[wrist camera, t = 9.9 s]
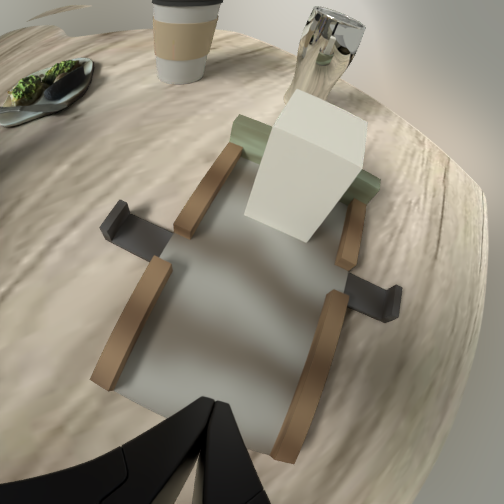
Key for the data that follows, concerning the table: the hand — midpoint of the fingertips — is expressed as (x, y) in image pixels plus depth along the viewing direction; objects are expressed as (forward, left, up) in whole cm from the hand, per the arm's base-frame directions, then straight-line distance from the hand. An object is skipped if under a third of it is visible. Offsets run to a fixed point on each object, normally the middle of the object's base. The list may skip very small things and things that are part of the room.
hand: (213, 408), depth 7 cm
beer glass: (+28, -24, -13) cm, 39 cm away
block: (+12, -13, -12) cm, 21 cm away
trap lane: (+7, -7, -12) cm, 16 cm away
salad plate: (+44, +12, -13) cm, 47 cm away
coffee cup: (+39, -9, -13) cm, 42 cm away
